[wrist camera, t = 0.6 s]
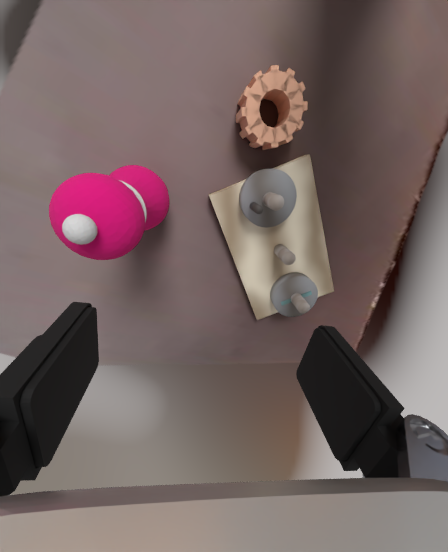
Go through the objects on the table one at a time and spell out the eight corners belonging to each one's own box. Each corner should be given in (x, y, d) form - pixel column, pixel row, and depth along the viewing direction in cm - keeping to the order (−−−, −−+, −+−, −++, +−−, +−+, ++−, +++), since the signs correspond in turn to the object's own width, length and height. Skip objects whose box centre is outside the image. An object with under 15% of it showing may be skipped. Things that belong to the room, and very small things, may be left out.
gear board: (304, 150, 31) (329, 145, 25) (329, 289, 41) (352, 310, 35) (206, 190, 31) (209, 195, 25) (255, 317, 41) (265, 342, 36)
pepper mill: (183, 202, 32) (166, 245, 14) (143, 232, 33) (80, 310, 15) (146, 153, 29) (63, 126, 11) (104, 188, 30) (-35, 218, 12)
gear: (285, 68, 27) (299, 53, 23) (298, 136, 30) (312, 132, 26) (227, 93, 27) (232, 82, 23) (246, 158, 30) (253, 157, 27)
